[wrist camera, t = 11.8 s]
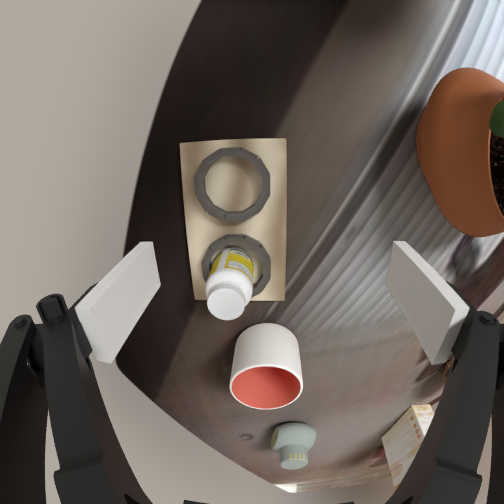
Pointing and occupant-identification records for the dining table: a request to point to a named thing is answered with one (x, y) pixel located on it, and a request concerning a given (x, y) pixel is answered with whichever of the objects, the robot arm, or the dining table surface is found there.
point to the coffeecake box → (406, 440)
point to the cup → (266, 367)
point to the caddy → (237, 208)
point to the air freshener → (293, 444)
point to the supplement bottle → (230, 283)
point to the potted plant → (465, 150)
